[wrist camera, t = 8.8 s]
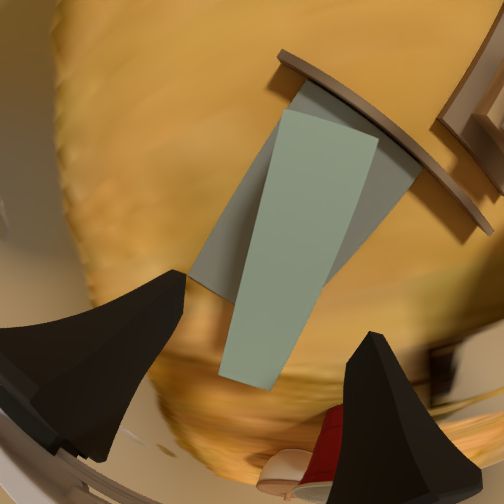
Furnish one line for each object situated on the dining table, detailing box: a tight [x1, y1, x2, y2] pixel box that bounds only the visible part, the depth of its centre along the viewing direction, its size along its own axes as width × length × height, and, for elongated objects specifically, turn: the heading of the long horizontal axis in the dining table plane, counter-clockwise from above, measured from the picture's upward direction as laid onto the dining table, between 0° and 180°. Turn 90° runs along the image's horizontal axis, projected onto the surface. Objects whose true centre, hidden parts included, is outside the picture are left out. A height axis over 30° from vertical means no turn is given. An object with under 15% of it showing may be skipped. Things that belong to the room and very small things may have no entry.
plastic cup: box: [291, 404, 343, 504], centre depth 24 cm, size 11×11×12 cm
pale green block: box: [218, 109, 379, 391], centre depth 15 cm, size 3×14×8 cm, turn 167°
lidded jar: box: [256, 449, 313, 501], centre depth 34 cm, size 11×11×9 cm
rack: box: [277, 3, 504, 237], centre depth 8 cm, size 18×23×2 cm
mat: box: [188, 80, 424, 305], centre depth 19 cm, size 9×17×1 cm, turn 149°
